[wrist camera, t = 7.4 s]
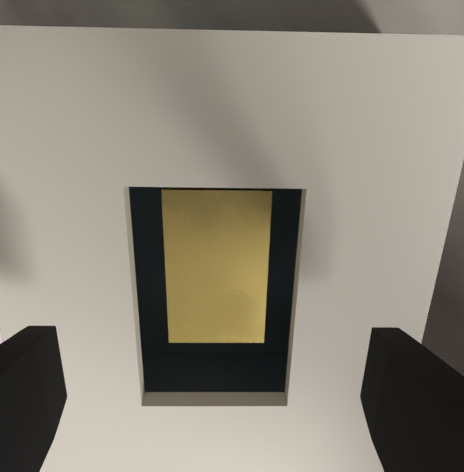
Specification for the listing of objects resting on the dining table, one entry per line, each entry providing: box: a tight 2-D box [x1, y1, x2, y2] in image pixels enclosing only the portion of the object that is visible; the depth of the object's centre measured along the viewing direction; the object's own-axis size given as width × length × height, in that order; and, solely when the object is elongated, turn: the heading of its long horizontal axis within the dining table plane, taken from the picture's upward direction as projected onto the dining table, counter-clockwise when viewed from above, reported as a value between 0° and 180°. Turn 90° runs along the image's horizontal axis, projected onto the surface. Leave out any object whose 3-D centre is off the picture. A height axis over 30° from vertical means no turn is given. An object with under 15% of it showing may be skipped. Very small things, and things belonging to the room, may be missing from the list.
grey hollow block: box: [0, 25, 464, 472], centre depth 15 cm, size 14×12×6 cm
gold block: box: [161, 187, 272, 343], centre depth 15 cm, size 5×3×5 cm, turn 179°
